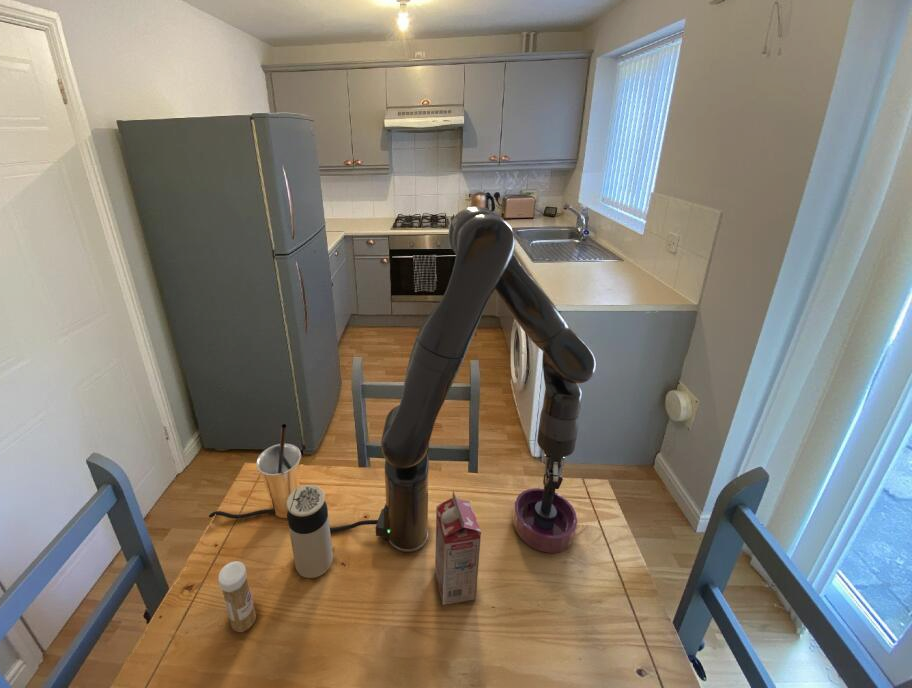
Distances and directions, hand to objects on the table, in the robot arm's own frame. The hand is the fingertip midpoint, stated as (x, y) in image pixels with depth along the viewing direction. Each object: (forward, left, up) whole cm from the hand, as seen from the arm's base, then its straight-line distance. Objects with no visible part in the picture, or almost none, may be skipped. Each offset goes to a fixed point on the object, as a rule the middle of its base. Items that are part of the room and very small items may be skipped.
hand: (548, 489), depth 94 cm
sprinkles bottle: (-56, -35, -11) cm, 67 cm away
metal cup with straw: (-60, -10, -11) cm, 62 cm away
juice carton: (-18, -19, -11) cm, 28 cm away
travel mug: (-48, -21, -11) cm, 54 cm away
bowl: (0, -1, -11) cm, 11 cm away
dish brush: (0, 0, -10) cm, 10 cm away
